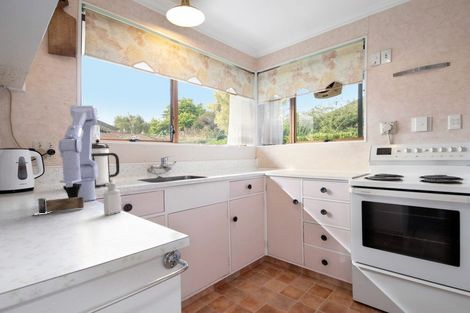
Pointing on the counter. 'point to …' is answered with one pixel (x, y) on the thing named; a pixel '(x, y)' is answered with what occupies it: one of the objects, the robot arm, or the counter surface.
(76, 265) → the counter surface
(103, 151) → the coffee press
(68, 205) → the gate
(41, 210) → the gate post
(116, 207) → the eye dropper bottle
